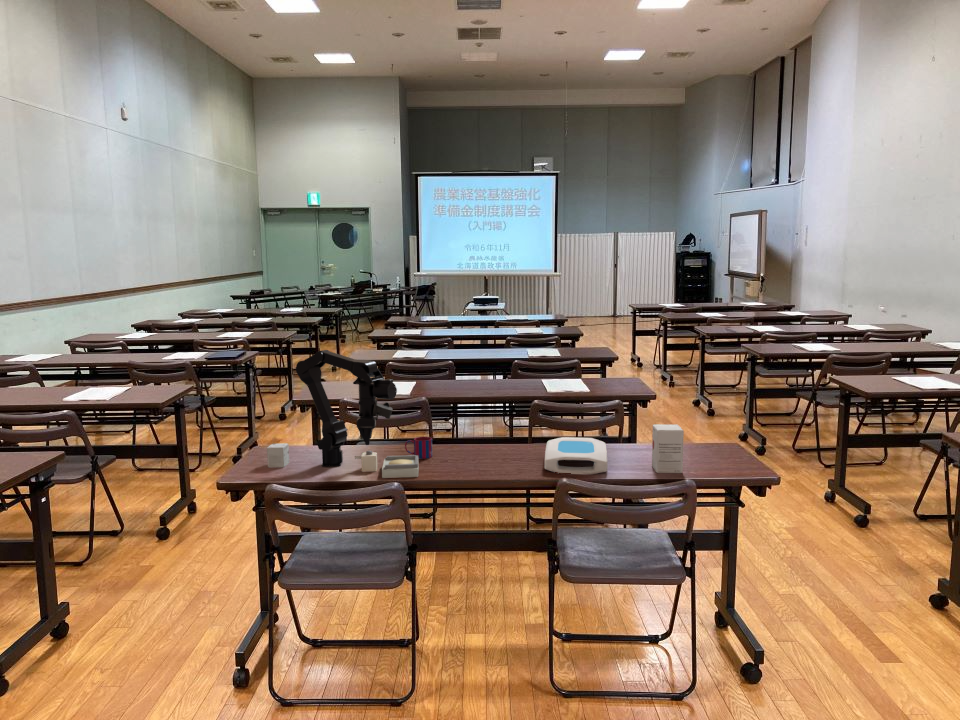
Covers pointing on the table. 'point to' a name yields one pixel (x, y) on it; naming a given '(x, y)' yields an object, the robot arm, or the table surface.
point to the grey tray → (400, 466)
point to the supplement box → (667, 448)
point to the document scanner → (576, 455)
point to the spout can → (368, 461)
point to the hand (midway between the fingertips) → (368, 441)
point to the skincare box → (278, 455)
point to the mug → (421, 447)
